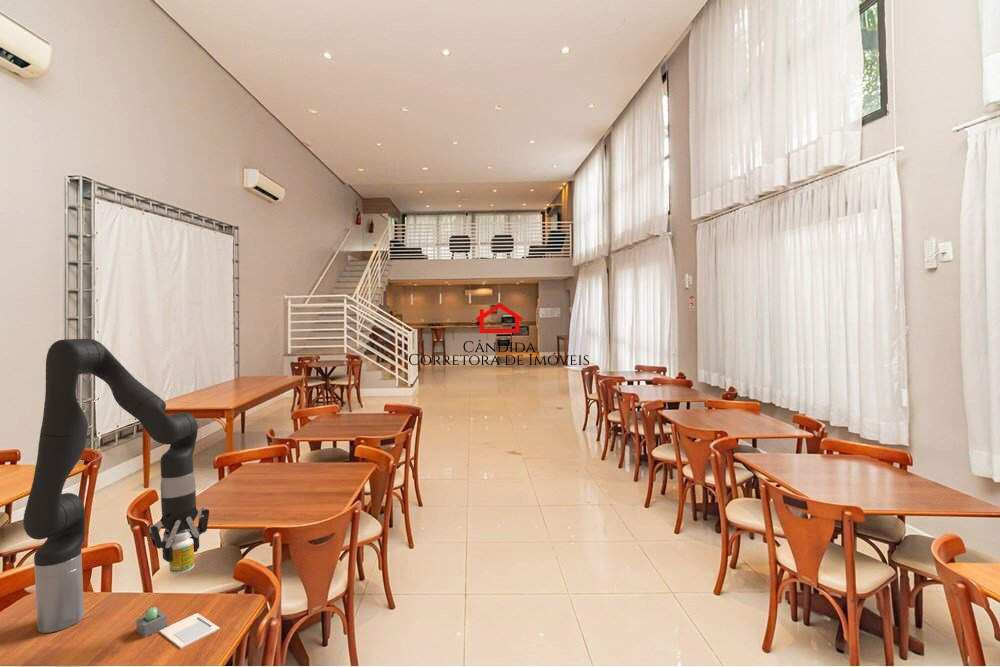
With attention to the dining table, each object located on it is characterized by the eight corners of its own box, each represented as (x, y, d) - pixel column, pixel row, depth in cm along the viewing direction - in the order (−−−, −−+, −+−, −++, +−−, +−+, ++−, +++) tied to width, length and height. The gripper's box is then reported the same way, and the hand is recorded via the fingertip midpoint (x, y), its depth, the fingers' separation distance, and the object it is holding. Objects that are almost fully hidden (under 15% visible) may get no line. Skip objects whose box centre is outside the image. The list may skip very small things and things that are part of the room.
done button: (144, 623, 126) (143, 610, 126) (155, 618, 128) (154, 606, 128) (148, 626, 125) (147, 613, 125) (159, 621, 127) (158, 609, 127)
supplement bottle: (182, 575, 125) (181, 537, 125) (164, 573, 126) (162, 536, 126) (199, 564, 130) (197, 528, 130) (181, 563, 131) (180, 527, 131)
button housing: (136, 631, 126) (136, 619, 126) (159, 621, 130) (158, 609, 130) (144, 637, 123) (144, 625, 123) (167, 627, 127) (166, 615, 127)
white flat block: (159, 632, 125) (159, 630, 125) (197, 614, 133) (197, 612, 133) (181, 649, 118) (180, 647, 118) (219, 629, 126) (219, 627, 126)
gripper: (200, 481, 136) (203, 542, 136) (139, 497, 124) (143, 564, 124) (214, 485, 132) (217, 548, 132) (153, 502, 120) (156, 572, 120)
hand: (181, 555), depth 128 cm, fingers closed on supplement bottle, 5 cm apart
